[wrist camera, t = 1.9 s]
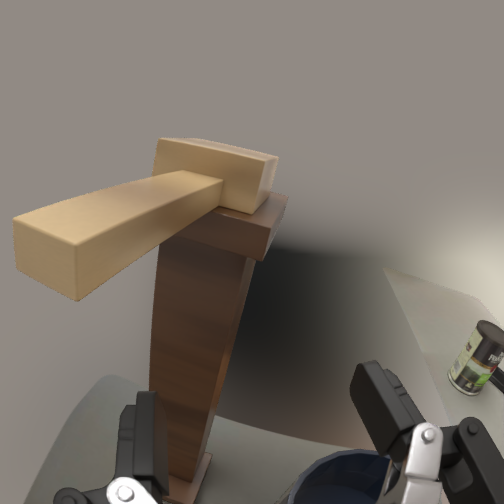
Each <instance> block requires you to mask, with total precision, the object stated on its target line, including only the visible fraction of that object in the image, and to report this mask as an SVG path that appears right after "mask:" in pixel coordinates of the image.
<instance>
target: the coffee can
mask: <svg viewBox="0 0 504 504" xmlns="http://www.w3.org/2000/svg"><path fill="white" fill-rule="evenodd" d="M503 357H504V331H503V330H502V329H501V328H499V327H498V326H496V325H495V324H493V323H491V322H488V321H485V320H480V321H479V322H478V323H477V326H476V328H475V330H474V332H473V333H472V335H471V337H470V338H469V340H468V342H467V343H466V345H465V347H464V349H463V350H462V352H461V353H460V355H459V356H458V358H457V360H456V361H455V363H454V364H453V366H452V367H451V369H450V370H449V372H448V376H449V379H450V381H451V383H452V384H453V385H454V386H455V387H456V388H457V389H458V390H459V391H461V392H463V393H464V394H467V395H476V394H478V393H479V391H480V390H481V388H482V387H483V386H484V384H485V383H486V382H487V380H488V379H489V377H490V376H491V375H492V373H493V372H494V370H495V369H496V367H497V366H498V364H499V363H500V361H501V360H502V358H503Z"/></svg>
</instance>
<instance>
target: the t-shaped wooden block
mask: <svg viewBox="0 0 504 504" xmlns="http://www.w3.org/2000/svg"><path fill="white" fill-rule="evenodd" d="M278 159H279V158H278V157H276V156H272V155H269V154H265V153H260V152H256V151H252V150H248V149H244V148H239V147H235V146H231V145H226V144H222V143H217V142H212V141H207V140H202V139H193V138H159V139H158V143H157V148H156V154H155V160H154V166H153V171H152V177H149V178H145V179H141V180H136V181H133V182H128V183H125V184H121V185H117V186H113V187H109V188H106V189H102V190H98V191H95V192H91V193H88V194H84V195H81V196H78V197H74V198H72V199H68V200H65V201H61V202H58V203H55V204H52V205H49V206H46V207H43V208H40V209H37V210H34V211H31V212H28V213H26V214H23V215H20V216H17V217H15V218H13V238H14V251H15V260H16V268H17V270H19V271H21V272H22V273H24V274H26V275H27V276H29V277H31V278H33V279H34V280H36V281H38V282H40V283H42V284H44V285H45V286H47V287H49V288H51V289H53V290H55V291H57V292H58V293H61V294H62V295H64V296H66V297H68V298H70V299H72V300H74V301H80V300H81V299H83V298H84V297H85V296H87V295H88V294H89V293H91V292H92V291H93V290H95V289H96V288H98V287H99V286H100V285H102V284H103V283H104V282H106V281H107V280H108V279H110V278H111V277H113V276H114V275H116V274H117V273H118V272H120V271H121V270H123V269H124V268H126V267H127V266H128V265H130V264H131V263H133V262H134V261H136V260H137V259H138V258H140V257H141V256H143V255H144V254H146V253H147V252H149V251H150V250H152V249H153V248H155V247H156V246H158V245H159V244H161V243H162V242H164V241H165V240H167V239H168V238H170V237H171V236H173V235H174V234H176V233H177V232H179V231H180V230H182V229H183V228H185V227H186V226H188V225H189V224H191V223H192V222H194V221H195V220H197V219H199V218H200V217H202V216H203V215H205V214H206V213H208V212H210V211H211V210H213V209H214V208H216V207H217V206H221V207H225V208H228V209H232V210H236V211H239V212H243V213H246V214H250V215H252V214H253V213H254V212H255V211H256V210H257V209H258V208H259V207H260V205H261V204H262V203H263V202H264V201H265V200H266V199H267V198H268V197H269V195H270V190H271V186H272V183H273V179H274V175H275V171H276V167H277V163H278Z"/></svg>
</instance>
